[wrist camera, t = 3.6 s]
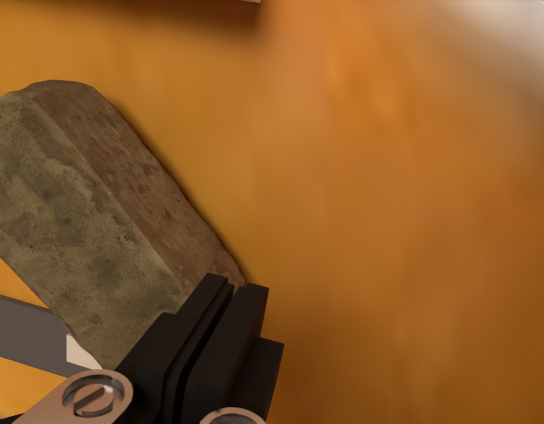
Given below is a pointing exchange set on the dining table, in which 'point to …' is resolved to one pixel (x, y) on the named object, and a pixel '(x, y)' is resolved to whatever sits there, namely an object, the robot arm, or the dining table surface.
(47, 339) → the mat
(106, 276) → the stone block
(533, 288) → the dining table surface
